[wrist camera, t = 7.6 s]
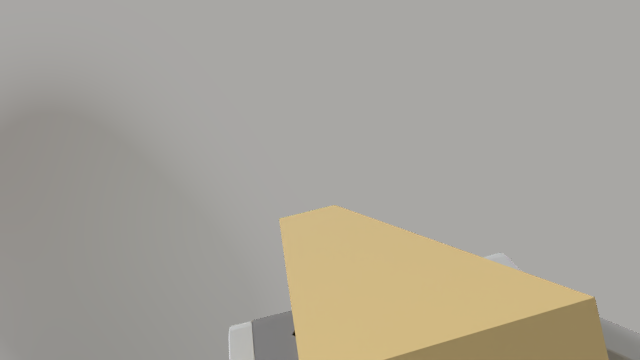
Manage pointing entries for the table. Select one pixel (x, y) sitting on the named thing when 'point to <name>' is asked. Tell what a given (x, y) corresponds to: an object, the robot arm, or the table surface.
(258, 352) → the robot arm
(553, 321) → the bar
